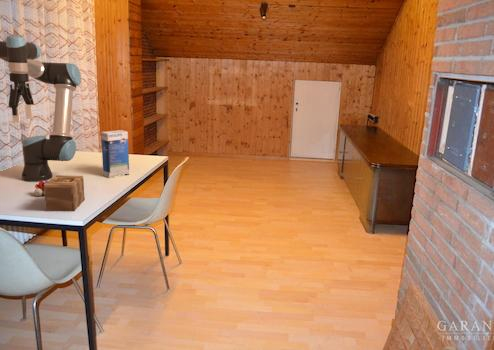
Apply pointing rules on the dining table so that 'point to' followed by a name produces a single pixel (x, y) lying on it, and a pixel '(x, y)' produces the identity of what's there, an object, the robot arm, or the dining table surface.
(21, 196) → the dining table surface
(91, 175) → the dining table surface
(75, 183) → the wooden box with opening
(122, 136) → the string lights box
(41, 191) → the multicolored rounded segment toy
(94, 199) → the dining table surface
